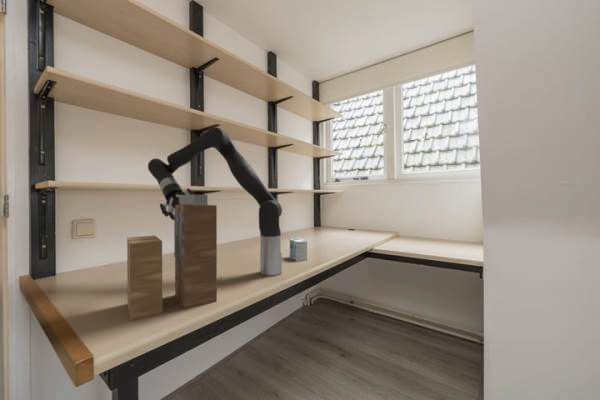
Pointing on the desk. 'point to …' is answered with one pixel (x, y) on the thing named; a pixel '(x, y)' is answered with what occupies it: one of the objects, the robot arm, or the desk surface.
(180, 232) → the tall brown wooden block
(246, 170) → the robot arm
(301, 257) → the light bulb box
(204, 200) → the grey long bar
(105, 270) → the desk surface
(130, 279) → the oak step
